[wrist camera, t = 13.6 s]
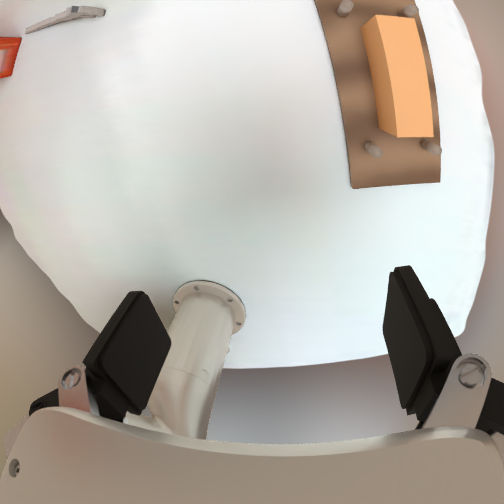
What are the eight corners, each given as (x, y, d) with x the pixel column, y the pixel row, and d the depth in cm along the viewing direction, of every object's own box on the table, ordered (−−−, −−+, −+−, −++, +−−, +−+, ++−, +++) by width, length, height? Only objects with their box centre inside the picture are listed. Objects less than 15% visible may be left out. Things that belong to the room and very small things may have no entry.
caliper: (108, 9, 21) (79, 3, 15) (106, 16, 21) (76, 10, 16) (28, 29, 20) (2, 30, 15) (26, 34, 21) (1, 36, 15)
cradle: (436, 179, 28) (453, 192, 24) (351, 185, 31) (359, 200, 27) (404, -14, 15) (418, -25, 11) (308, -17, 18) (310, -33, 14)
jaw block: (393, 29, 18) (414, 18, 13) (410, 127, 24) (433, 137, 19) (360, 28, 19) (375, 14, 14) (379, 128, 25) (397, 137, 20)
